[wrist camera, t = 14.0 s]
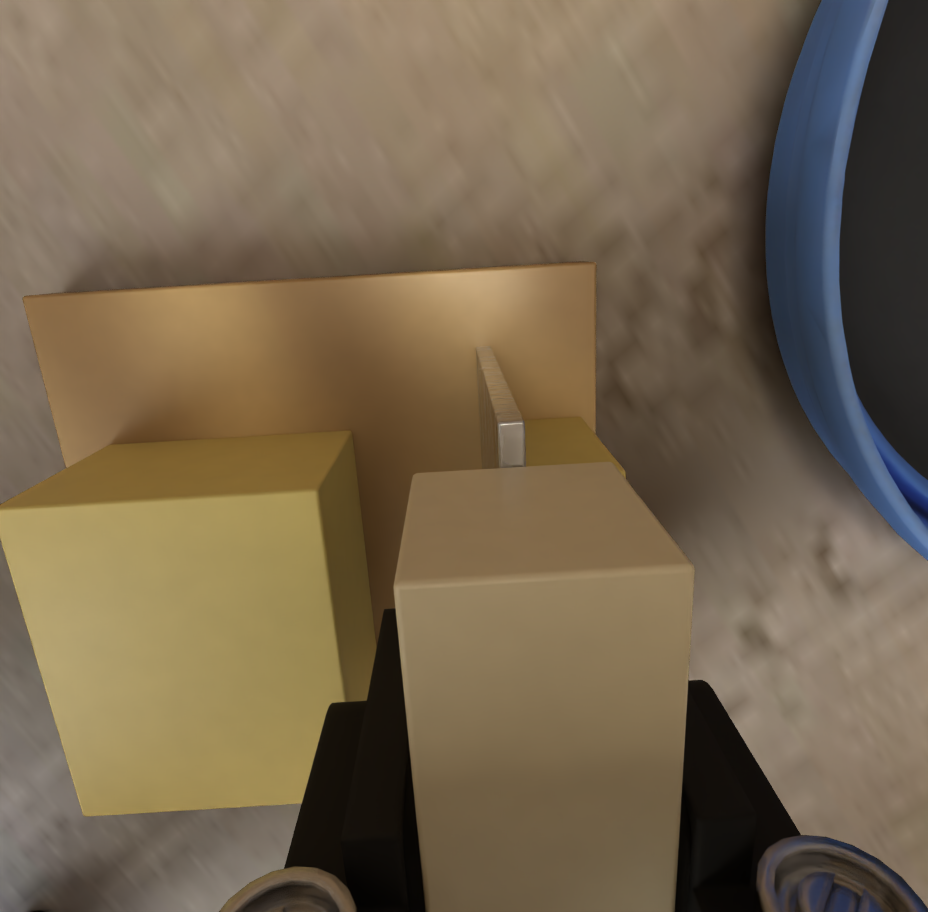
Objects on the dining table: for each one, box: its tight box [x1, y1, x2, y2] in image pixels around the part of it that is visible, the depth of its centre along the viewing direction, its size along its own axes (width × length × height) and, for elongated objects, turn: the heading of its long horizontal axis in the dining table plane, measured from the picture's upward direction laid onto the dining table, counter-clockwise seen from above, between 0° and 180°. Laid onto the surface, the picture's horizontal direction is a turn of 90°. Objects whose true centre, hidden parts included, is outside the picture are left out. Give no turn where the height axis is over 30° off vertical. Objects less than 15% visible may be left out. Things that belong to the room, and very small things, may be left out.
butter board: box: [23, 261, 597, 648], centre depth 14 cm, size 11×12×1 cm
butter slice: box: [524, 417, 626, 479], centre depth 12 cm, size 2×6×4 cm, turn 3°
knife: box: [393, 346, 695, 912], centre depth 10 cm, size 2×9×8 cm, turn 3°
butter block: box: [0, 430, 377, 816], centre depth 12 cm, size 5×6×4 cm
